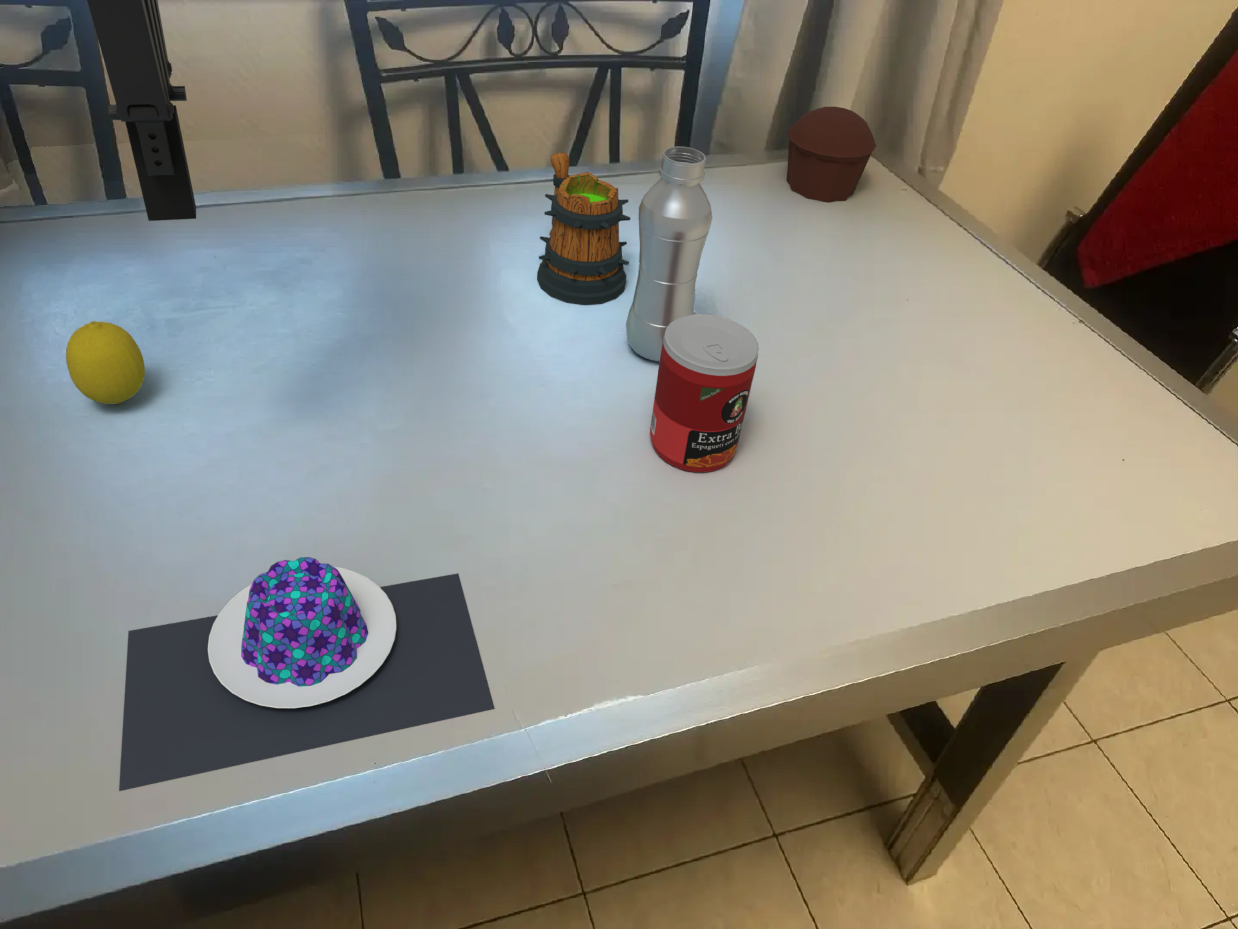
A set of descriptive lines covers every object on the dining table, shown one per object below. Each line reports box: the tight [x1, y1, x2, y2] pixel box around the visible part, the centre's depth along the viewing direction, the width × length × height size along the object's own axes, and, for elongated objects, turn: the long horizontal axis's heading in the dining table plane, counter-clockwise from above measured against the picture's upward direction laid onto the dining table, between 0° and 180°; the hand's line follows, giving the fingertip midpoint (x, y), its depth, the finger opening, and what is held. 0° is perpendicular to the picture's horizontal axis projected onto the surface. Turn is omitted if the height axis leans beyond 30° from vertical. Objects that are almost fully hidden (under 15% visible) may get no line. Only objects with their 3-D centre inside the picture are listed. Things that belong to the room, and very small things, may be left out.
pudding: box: [208, 556, 396, 708], centre depth 62 cm, size 12×12×5 cm
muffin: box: [786, 105, 877, 203], centre depth 123 cm, size 12×11×10 cm
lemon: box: [65, 320, 146, 405], centre depth 78 cm, size 6×6×8 cm
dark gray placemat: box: [118, 573, 496, 792], centre depth 62 cm, size 22×12×1 cm, turn 108°
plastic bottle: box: [625, 146, 713, 362], centre depth 87 cm, size 6×7×20 cm
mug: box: [536, 152, 632, 306], centre depth 100 cm, size 13×10×12 cm
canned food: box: [649, 313, 760, 473], centre depth 80 cm, size 8×8×11 cm
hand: (172, 213), depth 59 cm, fingers closed
